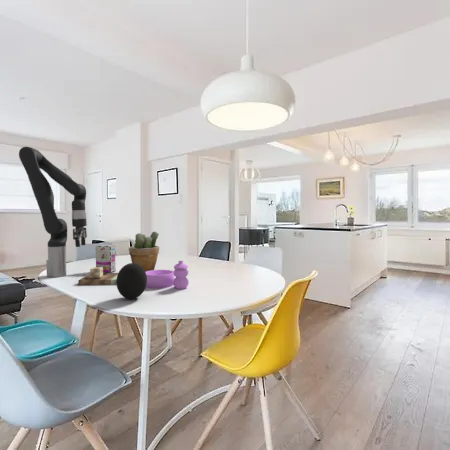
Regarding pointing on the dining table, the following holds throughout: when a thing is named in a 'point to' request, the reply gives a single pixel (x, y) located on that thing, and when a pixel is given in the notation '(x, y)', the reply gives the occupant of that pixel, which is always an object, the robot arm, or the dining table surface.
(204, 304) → the dining table surface
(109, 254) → the candy bar box
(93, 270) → the block
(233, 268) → the dining table surface
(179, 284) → the container set
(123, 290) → the decorative egg
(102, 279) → the board
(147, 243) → the potted plant
